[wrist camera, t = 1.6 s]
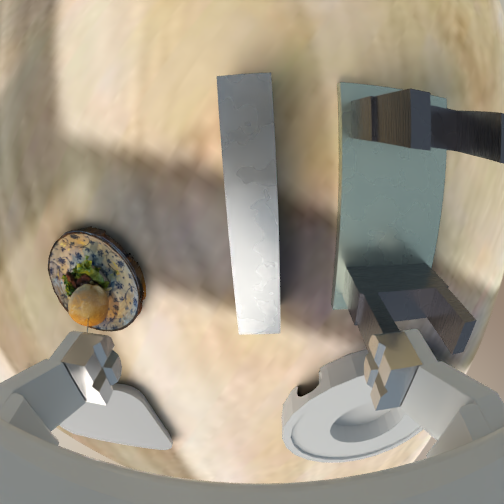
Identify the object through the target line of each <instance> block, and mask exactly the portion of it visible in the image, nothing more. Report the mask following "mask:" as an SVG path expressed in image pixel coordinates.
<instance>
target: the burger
mask: <svg viewBox="0 0 504 504" xmlns="http://www.w3.org/2000/svg"><path fill="white" fill-rule="evenodd" d="M130 254H131V253H129V254H127V253H126V252H125V251H124V249H123V248H122V247H121V246H120V245H119V244H118V243H116V241H114V239H112V238H110V237H109V236H108V235H106V234H105V231H104V230H101V229H97V228H92V227H88V228H85V229H82V230H72V231H69V232H66V233H65V234H63V235H62V236H61V237H60V238H59V239H58V240H57V241H56V242H55V243H54V245H53V247H52V249H51V251H50V255H49V261H48V272H49V276H50V279H51V282H52V286H53V289H54V292H55V293H56V295H57V297H58V299H59V301H60V303H61V304H62V306H63V307H64V308H65V310H66V311H67V312H68V313H69V315H70V316H71V318H72V319H73V320H74V321H75V322H77V323H79V324H81V325H83V326H87V332H88V327H90V328H94V329H96V330H101V331H118V330H122V329H124V328H126V327H127V326H128V325H130V324H131V323H132V322H133V321H134V320H135V319H136V317H137V316H138V315H139V314H140V312H141V308H142V307H141V306H142V303H141V302H142V301H143V299H144V298H143V296H144V297H146V295H145V294H146V285H145V281H144V276H143V273H141V272H142V271H141V268H140V266H139V267H138V266H137V264H138V262H135V261H134V260H133V259H134V258H133V257H132V258H133V259H131V257H129V255H130ZM133 256H134V255H133ZM143 291H144V292H143ZM141 296H142V298H141ZM140 298H141V301H140Z"/></svg>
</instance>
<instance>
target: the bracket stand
mask: <svg viewBox="0 0 504 504" xmlns="http://www.w3.org/2000/svg"><path fill="white" fill-rule="evenodd" d="M337 91H338V117H339V192H338V219H337V238H336V253H335V266H334V278H333V289H332V299H331V305H332V308H333V310H335V309H348V310H349V313H350V315H351V317H352V320H353V323H354V325H358V328H359V330H360V332H361V335H362V338H363V340H364V343H365V345H366V348H367V350H368V353H369V352H370V351H371V350H370V348H369V341H370V338H371V336H372V335H375V334H384V333H392V332H399V329H398V327H397V326H396V324H395V322H394V321H403V320H411V319H419V318H426V317H427V318H428V320H429V321H430V322H431V324H432V325H433V327H434V328H435V330H436V331H437V333H438V334H439V336H440V337H441V339H442V340H443V342H444V343H445V345H446V346H447V348H448V349H449V351H450V352H451V354H456V353H460V352H463V351H464V349H465V346H466V344H467V342H468V340H469V337H470V335H471V332H472V330H473V328H474V325H475V323H476V320H475V318H474V317H473V316H472V315H471V314H470V313H469V311H468V310H467V309H466V308H465V307H464V306H463V304H462V303H461V302H460V301H459V300H458V299H457V298H456V297H455V295H454V294H453V293H452V292H451V291H450V290H449V289H448V285H447V284H446V283H445V282H444V281H443V280H442V279H441V278H440V277H439V276H438V275H437V274H436V273H435V272H434V271H433V270H432V269H431V268H432V263H433V258H434V253H435V248H436V242H437V236H438V230H439V224H440V217H441V210H442V202H443V193H444V182H445V169H446V151H447V150H452V151H458V152H462V153H466V154H470V155H474V156H478V157H482V158H486V159H489V160H493V161H497V162H500V163H504V114H503V113H496V112H480V111H455V110H451V109H447V102H446V98H442V97H437V96H433V95H430V93H429V92H424V91H420V90H414V89H406V90H401V89H395V88H389V87H381V86H374V85H365V84H355V83H344V82H340V83H338V84H337Z"/></svg>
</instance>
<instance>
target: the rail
mask: <svg viewBox="0 0 504 504" xmlns="http://www.w3.org/2000/svg"><path fill="white" fill-rule="evenodd" d="M217 89H218V104H219V119H220V133H221V146H222V159H223V172H224V184H225V196H226V208H227V219H228V230H229V241H230V252H231V262H232V272H233V282H234V292H235V302H236V311H237V321H238V330H239V334H275V333H280V265H279V225H278V195H277V170H276V148H275V128H274V110H273V94H272V78H271V73H252V74H238V75H226V76H217Z"/></svg>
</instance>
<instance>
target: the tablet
mask: <svg viewBox="0 0 504 504" xmlns="http://www.w3.org/2000/svg"><path fill="white" fill-rule="evenodd" d="M112 388H113V393H112V395H111V397H110V399H109V401H108V403H107V405H101V404H96V403H91V402H86V403H85V404H84V405H83V406H81V407H80V408H79V409H78V410H77V411H75V412H74V413H73V414H72V415H70V416H69V417H68V418H67V419H66V420H64V421H63V422H62V423H61V424H59V425H60V426H61V427H62V428H64V429H65V430H67V431H69V432H71V433H73V434H77V435H81V436H85V437H89V438H93V439H98V440H103V441H107V442H113V443H118V444H124V445H130V446H136V447H143V448H150V449H159V450H167V449H170V448H171V447H172V444H173V441H172V439H171V438H170V434H169V432H168V431H167V429H166V428H165V426H164V425H163V424H162V422H161V421H160V419H159V418H158V416H157V415H156V413H155V412H154V410H153V409H152V407H151V406H150V404H149V402H148V401H147V399H146V398H145V396H144V395H143V394H142V393H141V392H140V391H139V390H137V389H136V388H134V387H132V386H129V385H126V384H116V383H115V384H114V385H112Z"/></svg>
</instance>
